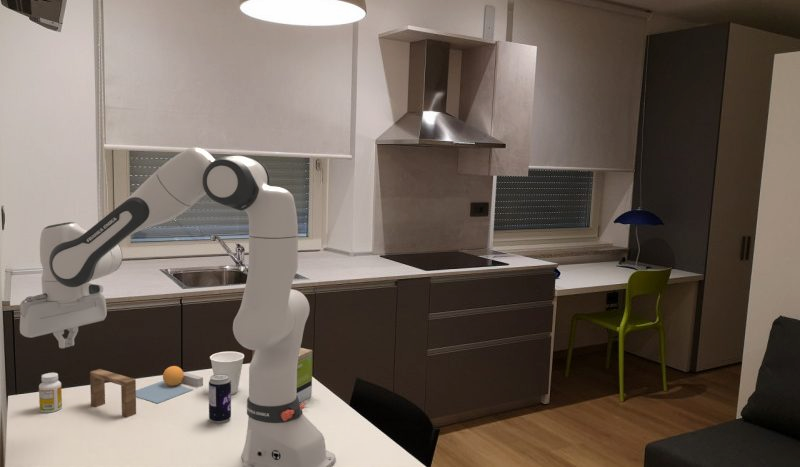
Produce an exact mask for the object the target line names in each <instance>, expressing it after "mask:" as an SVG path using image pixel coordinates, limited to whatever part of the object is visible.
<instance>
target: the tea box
mask: <svg viewBox="0 0 800 467" xmlns="http://www.w3.org/2000/svg"><path fill="white" fill-rule="evenodd" d="M254 353H255V350H252V355H251V356H252V359H253V356H254ZM252 359H251V360H252ZM312 388H313V350H312V349H309V348H308V349H307V348H304V347H300V352H299V357H298V364H297V396H298V398H299V401H300V404H301V403H302V402H304V401H306V400H308V399H309V398H311V397H312V396H313V395H312V392H313V391H312V390H313V389H312Z"/></svg>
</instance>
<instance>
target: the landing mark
mask: <svg viewBox="0 0 800 467" xmlns="http://www.w3.org/2000/svg"><path fill="white" fill-rule="evenodd" d="M191 391H194V388H189V387H186V386H184V385H183V386H182V385H180V384H178V385H176V386H169V385H167V384H166V383H165V382H164V380H161V381H159V382H156V383H153V384H151V385H150V384H149V385H148V386H145V387H142V388H139V389H136V398H138V399H142V400H144V401H146V402H147V401H148V402H151V403H154V404H160V403H163V402H167V401H168V400H171V399H173V398H175V397H178V396H181V395H184V394H186V393H189V392H191Z"/></svg>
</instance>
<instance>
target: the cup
mask: <svg viewBox="0 0 800 467" xmlns="http://www.w3.org/2000/svg"><path fill="white" fill-rule="evenodd" d="M244 358H245V354H244V353H243V352H238V351H220V352H216V353H213V354H212V355H210V356H209V359H210V361H211V363H210V364H211V368H212V373H213V374H212V375H215V374H227V375H229V378H230V380H231V396H232V395H234V394H236V393H237V392H238V390H239V386H240V379H241V374H242V369H243V368H242V367H243V362H244Z"/></svg>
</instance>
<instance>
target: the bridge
mask: <svg viewBox="0 0 800 467" xmlns="http://www.w3.org/2000/svg"><path fill="white" fill-rule="evenodd" d="M89 379H90V380H89V381H90V382H89V384H90V386H89V388H90V406H91V407H94V408H97V407H99V406H102V405H105V404H106V385H105V382H109V383H112V384H114V385H118V386H120V387H121V388H120V391H121V392H120V394H121V395H120V396H121V416H122V417H124V418H129V417H132V416H134V415H136V414H137V397H136V390H137V389H136V388H137V386H136V385H137V384H136V383H137V382H136V379H135V378H133V377H129V376H126V375H123V374H118V373H115V372H111V371H109V370H105V369H102V368H98V369H95V370H91V371H90V372H89Z"/></svg>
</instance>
